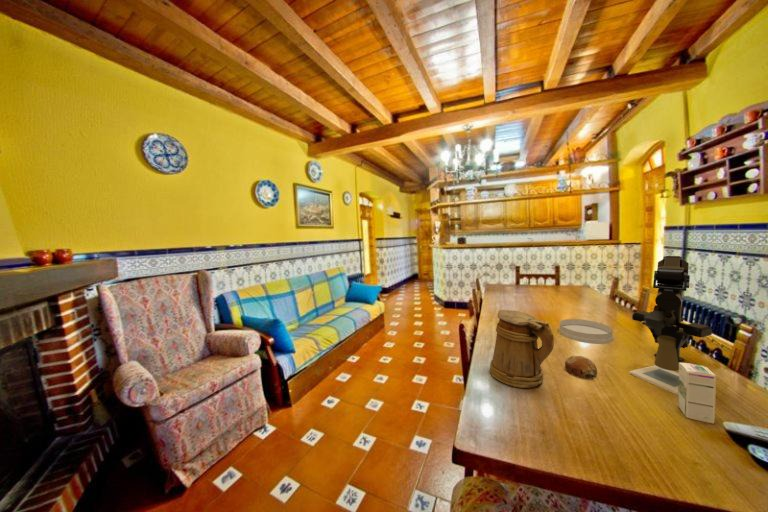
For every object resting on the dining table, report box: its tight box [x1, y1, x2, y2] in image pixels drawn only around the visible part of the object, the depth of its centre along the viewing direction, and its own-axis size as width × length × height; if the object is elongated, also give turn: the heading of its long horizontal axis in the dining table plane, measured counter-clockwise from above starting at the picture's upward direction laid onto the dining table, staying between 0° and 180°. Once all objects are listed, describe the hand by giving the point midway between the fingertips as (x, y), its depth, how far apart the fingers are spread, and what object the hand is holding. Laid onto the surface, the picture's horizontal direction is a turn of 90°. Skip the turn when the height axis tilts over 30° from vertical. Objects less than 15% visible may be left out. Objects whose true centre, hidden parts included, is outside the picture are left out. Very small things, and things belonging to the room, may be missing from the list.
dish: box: [558, 318, 614, 345], centre depth 134 cm, size 22×22×5 cm
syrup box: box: [677, 361, 717, 425], centre depth 75 cm, size 6×6×14 cm
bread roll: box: [564, 355, 598, 379], centre depth 101 cm, size 10×10×8 cm
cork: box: [653, 335, 679, 372], centre depth 92 cm, size 6×6×11 cm
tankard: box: [489, 309, 555, 389], centre depth 98 cm, size 18×24×25 cm
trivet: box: [628, 364, 679, 396], centre depth 93 cm, size 14×14×1 cm
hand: (667, 346), depth 92 cm, fingers closed on cork, 5 cm apart
